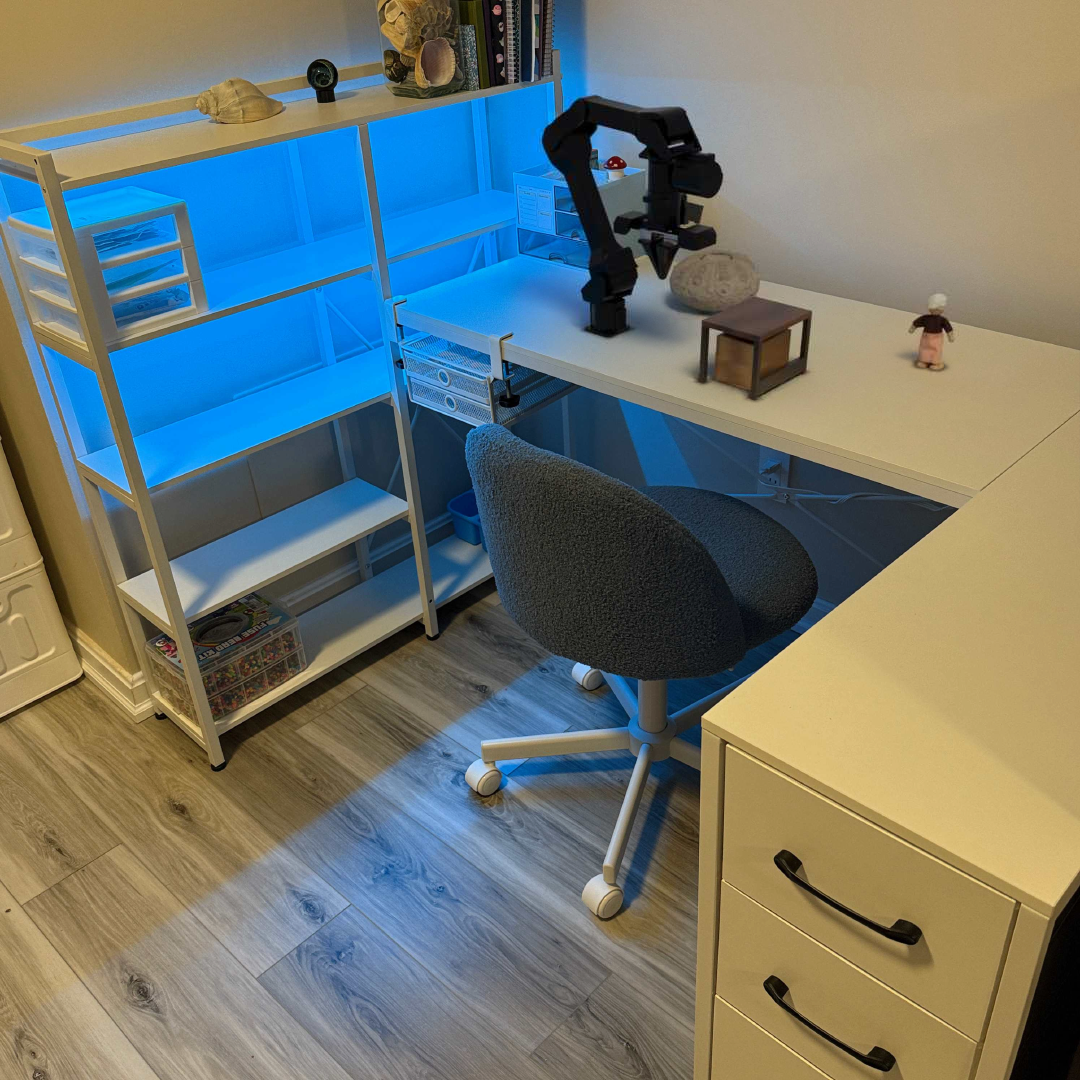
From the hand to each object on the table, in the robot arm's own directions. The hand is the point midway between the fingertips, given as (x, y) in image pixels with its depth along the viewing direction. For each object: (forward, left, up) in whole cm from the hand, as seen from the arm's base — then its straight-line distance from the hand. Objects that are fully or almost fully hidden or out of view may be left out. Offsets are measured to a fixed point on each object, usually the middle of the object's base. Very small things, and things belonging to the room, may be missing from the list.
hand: (662, 279), depth 184 cm
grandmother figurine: (+40, +23, -13) cm, 48 cm away
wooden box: (+20, 0, -13) cm, 24 cm away
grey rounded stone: (-7, +25, -13) cm, 29 cm away
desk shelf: (+20, 0, -13) cm, 24 cm away
